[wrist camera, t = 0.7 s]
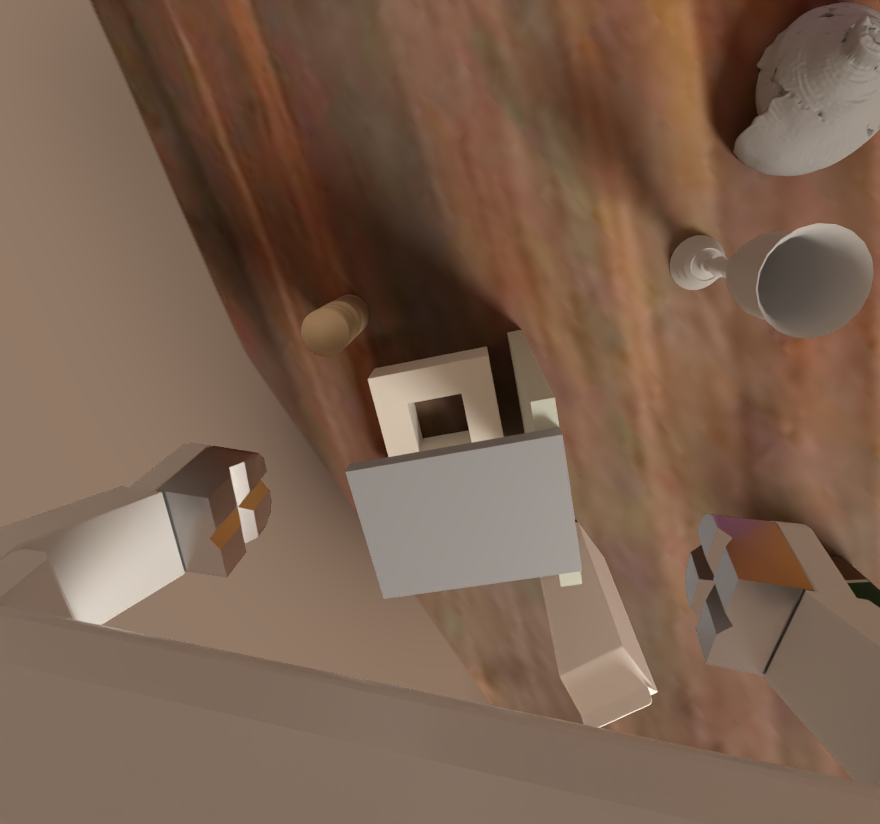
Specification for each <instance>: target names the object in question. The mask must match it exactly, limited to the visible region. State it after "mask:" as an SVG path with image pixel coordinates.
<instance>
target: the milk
mask: <svg viewBox="0 0 880 824" xmlns="http://www.w3.org/2000/svg"><path fill="white" fill-rule="evenodd" d="M575 524H576V531H577V537H578V544H579V551H580V558H581V565H582V571H581V577H582V584H578V585H571V586H563V587H561V585H560V581H559V577H558V575H551V576H543V577H540V579H541V584H542V589H543V595H544V600H545V605H546V610H547V615H548V620H549V625H550V630H551V635H552V640H553V646H554V651H555V656H556V661H557V666H558V671H559V676H560V678H561V680H562V682H563V684H564V686H565V687H566V689H567V691H568V693H569V695H570V696H571V698H572V700H573V702H574V703H575V705H576V707H577V709H578V711H579V712H580V714H581V716H582V720H583V725H588V726H593V727H598V728H600V727H602V726H604V725H606V724H608V723H611V722H613V721H615V720H617V719H620V718H622V717H624V716H626V715H628V714H631V713H633V712H635V711H637V710H640V709H642V708H644V707H646V706H648V705H650V704H651V703H652V698H651V695H652V694H655V693H657V692H658V691H657V689H656V686H655V684H654V681H653V679H652V676H651V674H650V671H649V669H648V666H647V664H646V661H645V659H644V656H643V654H642V651H641V649H640V646H639V644H638V641H637V639H636V636H635V634H634V631H633V629H632V626H631V624H630V621H629V619H628V616H627V614H626V611H625V609H624V606H623V604H622V601H621V599H620V596H619V594H618V591H617V589H616V586H615V584H614V581H613V579H612V576H611V574H610V571H609V569H608V566H607V564H606V561H605V559H604V557H603V555H602V554H601V553H600V551H599V550H598V548H597V547H596V546H595V544H594V543H593V542H592V540H591V539H590V538H589V536H588V535H587V534H586V532H585V531H584V529H583V528H582V527H581V525H580V524H579V523H578V522H576V523H575Z"/></svg>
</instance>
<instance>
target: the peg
mask: <svg viewBox="0 0 880 824" xmlns="http://www.w3.org/2000/svg"><path fill="white" fill-rule="evenodd" d="M369 320H370V311H369V308H368V306H367V304H366V303H365V301H364V300H363V299H361V298H360V297H358V296H356V295H351V294H347V295H343V296H341V297H339V298H337V299H335V300H333V301H332V302H330V303H328V304H326V305H324V306H322V307H321V308H319V309H317V310H315V311H313V312H312V313H310V314H309V315H308V316H307V317H306V318H305V319H304V321H303V323H302V327H301V336H302V339H303V342H304V344H305V345H306V347H307V348H308V349H309V350H310V351H311V352H313V353H314V354H316V355H319V356H323V357H330V356H334V355H337V354H338V353H340V352H341V351H342V350H343V349H344V348H345V347H346V346H347V345H348V344H349V343H350V342H351V341H352V340H353V339H354V338H355V337H357V336H358V335H359V334H360V333H361V332H362V331H363V330H364V329H365V328H366V326H367V325H368V323H369Z"/></svg>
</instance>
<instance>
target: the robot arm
mask: <svg viewBox="0 0 880 824" xmlns="http://www.w3.org/2000/svg"><path fill="white" fill-rule="evenodd" d="M266 472H267V471H266V466H265V461H264V458H263V457H262V456H261V455H260V454H259V453H256V452H250V451H243V450H237V449H230V448H224V447H217V446H210V445H204V444H196V443H187V444H183V445H181V446H180V447H179V448H178V449H176V450H175V451H174V452H173V453H171V454H170V455H169V456H168V457H167V458H165V459H164V460H163V461H161V462H160V463H159V464H158V465H156V466H155V467H154V468H152V469H151V470H150V471H149V472H147V473H146V474H145V475H144V476H142V477H141V478H140V479H139V480H138V481H136V482H135V483H134V484H133V485H131V486H130V487H126V486H121V487H118V488H114V489H112V490H109V491H106V492H103V493H100V494H97V495H94V496H91V497H88V498H85V499H82V500H79V501H76V502H73V503H71V504H68V505H65V506H62V507H59V508H56V509H53V510H50V511H47V512H44V513H41V514H38V515H35V516H32V517H30V518H26V519H24V520H21V521H17V522H15V523H12V524H9V525H6V526H3V527H0V824H880V608H879V607H878V606H876V605H875V604H873V603H872V602H870V601H869V600H865V599H859V598H856V596H855V594H854V593H853V591H852V590H851V588H850V587H849V585H848V584H847V582H846V581H845V579H844V578H843V576H842V575H841V573H840V572H839V570H838V569H837V567H836V566H835V564H834V563H833V561H832V559H831V558H830V556H829V555H828V553H827V552H826V550H825V549H824V547H823V546H822V544H821V543H820V541H819V540H818V538H817V537H816V535H815V534H814V532H813V531H812V529H811V528H809V527H808V526H806V525H805V524H797V523H788V522H778V521H763V520H755V519H747V518H739V517H730V516H722V515H714V514H705V515H704V517H703V518H702V520H701V522H700V525H699V528H698V531H697V533H698V536H699V539H700V542H701V546H699V547H698V548H696V549H695V550H693V551H692V552H691V553H690V557H689V560H688V564H687V567H686V581H685V585H686V594H687V598H688V602H689V606H690V608H691V609H692V610H693V611H694V612H695V613H696V614H697V615H698V616H699V617H700V618H699V621H698V624H697V627H696V632H697V635H698V639H699V642H700V645H701V649H702V652H703V656H704V659H705V663H706V664H710V665H714V666H719V667H724V668H729V669H734V670H739V671H744V672H748V673H753V674H758V675H763V676H764V679H765V680H766V682H767V683H768V684H769V685H770V686H771V687H772V688H773V689H774V691H775V692H776V693H777V694H778V695H779V696H780V697H781V699H782V700H783V701H784V702H785V703H786V704H787V705H788V706H789V708H790V709H791V710H792V711H793V712H794V713H795V714H796V716H797V717H798V718H799V719H800V720H801V721H802V722H803V723H804V725H805V726H806V727H807V728H808V729H809V730H810V731H811V732H812V734H813V735H814V736H815V737H816V738H817V739H818V740H819V742H820V743H821V744H822V745H823V746H824V747H825V748H826V749H827V751H828V752H829V753H830V754H831V755H832V756H833V757H834V759H835V760H836V761H837V762H838V763H839V764H840V765H841V766H842V768H843V769H844V770H845V771H846V772H847V773H848V774H849V776H850V777H851V778H852V779H853V780H850V779H845V778H840V777H836V776H831V775H826V774H821V773H816V772H811V771H806V770H802V769H797V768H792V767H787V766H782V765H777V764H772V763H767V762H763V761H758V760H753V759H748V758H743V757H738V756H733V755H728V754H724V753H719V752H714V751H709V750H704V749H699V748H694V747H690V746H685V745H680V744H675V743H670V742H665V741H660V740H656V739H651V738H646V737H641V736H636V735H631V734H627V733H622V732H617V731H612V730H607V729H602V728H598V727H593V726H588V725H583V724H578V723H573V722H569V721H564V720H559V719H554V718H549V717H544V716H540V715H535V714H530V713H525V712H520V711H515V710H511V709H506V708H501V707H496V706H491V705H486V704H482V703H477V702H472V701H467V700H462V699H457V698H452V697H448V696H443V695H438V694H433V693H428V692H423V691H419V690H414V689H409V688H404V687H399V686H394V685H389V684H384V683H379V682H375V681H370V680H365V679H360V678H355V677H350V676H345V675H341V674H336V673H331V672H326V671H321V670H316V669H311V668H307V667H302V666H297V665H292V664H287V663H282V662H278V661H273V660H268V659H263V658H258V657H253V656H248V655H243V654H239V653H234V652H229V651H224V650H219V649H214V648H209V647H205V646H200V645H195V644H190V643H185V642H180V641H176V640H171V639H166V638H161V637H156V636H151V635H147V634H141V633H136V632H132V631H127V630H122V629H117V628H112V627H107V626H103V625H101V624H103V623H105V622H106V621H108V620H110V619H111V618H113V617H115V616H116V615H118V614H119V613H121V612H123V611H124V610H126V609H128V608H129V607H131V606H133V605H134V604H136V603H137V602H139V601H141V600H142V599H144V598H146V597H147V596H149V595H151V594H152V593H154V592H156V591H157V590H159V589H160V588H162V587H164V586H165V585H167V584H168V583H170V582H171V581H174V580H175V579H177V578H178V577H180V576H182V575H183V574H185V572H184V571H186V572H194V573H200V574H206V575H213V576H220V577H228V576H229V574H230V573H231V572H232V570H233V569H234V568H235V566H236V565H237V564H238V562H239V561H240V560H241V559H242V557H243V556H244V555H245V553H246V548H245V543H247V542H248V541H251V540H252V539H255V538H257V537H258V536H259V535H260V534H261V532H262V531H263V529H264V528H265V526H266V524H267V521H268V518H269V516H270V513H271V495H270V490H269V489H268V488H267V487H266V485H265V484H264V483H263V482H262V481H261V479H262V478H263V477H264V475H265V473H266Z"/></svg>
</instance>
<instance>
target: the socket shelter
mask: <svg viewBox="0 0 880 824" xmlns="http://www.w3.org/2000/svg"><path fill="white" fill-rule="evenodd" d="M507 335H508V341H509V347H510V352H511V358H512V364H513V370H514V376H515V381H516V387H517V393H518V399H519V405H520V410H521V416H522V422H523V428H524V434H518V435H512V436H506V437H504V435H503V430H502V424H501V419H500V413H499V408H498V403H497V397H496V392H495V387H494V381H493V376H492V371H491V365H490V360H489V355H488V349H487V346H486V347H481V348H476V349H471V350H466V351H461V352H455V353H450V354H445V355H440V356H435V357H430V358H425V359H420V360H415V361H410V362H405V363H400V364H394V365H389V366H384V367H379V368H375V369H374V370H373V372H372V373H371V375H370V376H369V378H368V383H369V386H370V390H371V394H372V397H373V401H374V405H375V409H376V412H377V416H378V420H379V423H380V427H381V431H382V435H383V438H384V442H385V446H386V450H387V453H388V457H386V458H380V459H375V460H369V461H363V462H357V463H352V464H349V466H348V468H347V470H346V475H347V479H348V482H349V485H350V488H351V492H352V495H353V498H354V502H355V505H356V508H357V512H358V515H359V518H360V522H361V525H362V528H363V531H364V535H365V538H366V542H367V545H368V548H369V551H370V555H371V558H372V561H373V565H374V568H375V571H376V575H377V578H378V581H379V585H380V588H381V591H382V595H383V598H384V599H386V598H394V597H401V596H408V595H415V594H422V593H429V592H436V591H444V590H451V589H458V588H465V587H472V586H479V585H486V584H494V583H501V582H508V581H515V580H522V579H529V578H536V577H543V576H551V575H558V577H559V581H560V585H561V587H563V586H571V585H578V584H582V577H581V571H582V565H581V558H580V551H579V544H578V537H577V531H576V524H575V517H574V510H573V503H572V497H571V490H570V483H569V476H568V469H567V463H566V456H565V449H564V442H563V436H562V433H561V430H560V428H559V423H558V416H557V409H556V402H555V397H554V395H553V393H552V391H551V389H550V387H549V385H548V383H547V381H546V378H545V376H544V374H543V372H542V370H541V368H540V366H539V364H538V362H537V360H536V358H535V356H534V354H533V352H532V350H531V348H530V346H529V343H528V341H527V339H526V337H525V335H524V333H523V331H522V330H517V331H512V332H507ZM457 394H462V399H463V404H464V408H465V413H466V418H467V423H468V427H469V430H467V431H462V432H456V433H450V434H445V435H439V436H433V437H428V438H423V437H422V433H421V429H420V425H419V421H418V417H417V412H416V408H415V404H414V402H419V401H425V400H430V399H435V398H441V397H446V396H451V395H457Z"/></svg>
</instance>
